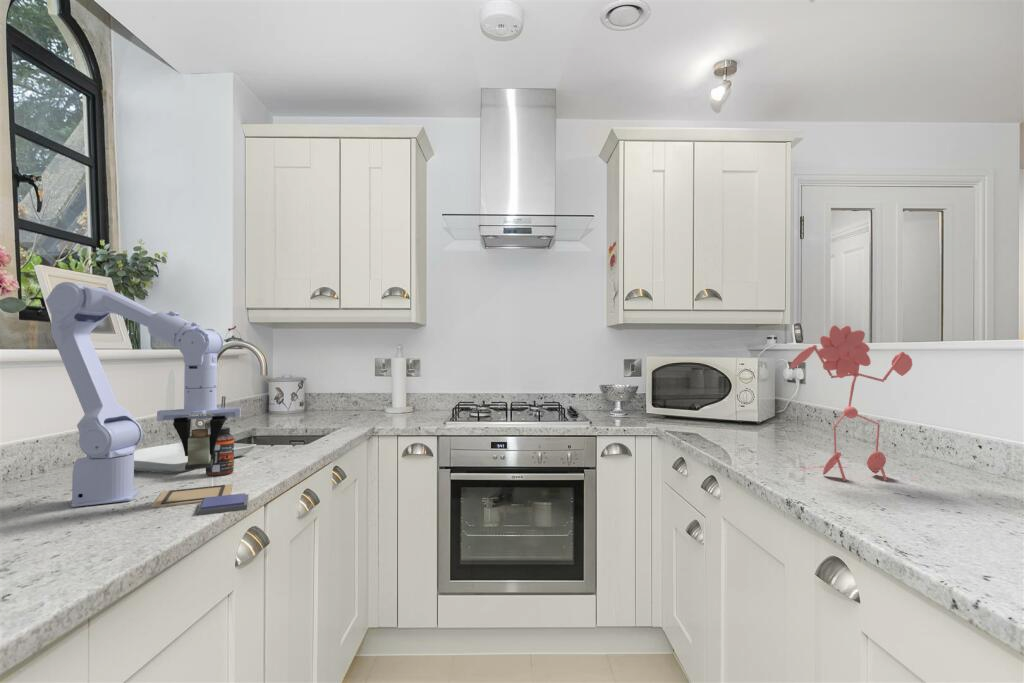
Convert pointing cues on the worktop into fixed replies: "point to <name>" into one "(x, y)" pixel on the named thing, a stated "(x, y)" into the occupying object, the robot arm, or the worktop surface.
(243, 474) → the worktop surface
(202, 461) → the stamp
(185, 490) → the sheet
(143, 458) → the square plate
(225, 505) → the ink pad
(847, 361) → the figurine
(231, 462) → the supplement bottle
